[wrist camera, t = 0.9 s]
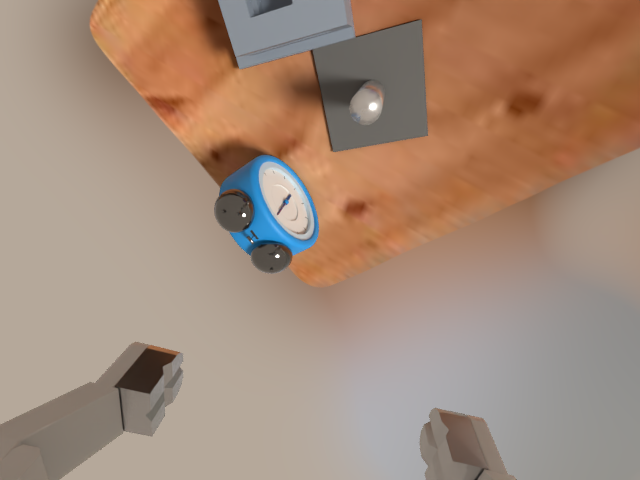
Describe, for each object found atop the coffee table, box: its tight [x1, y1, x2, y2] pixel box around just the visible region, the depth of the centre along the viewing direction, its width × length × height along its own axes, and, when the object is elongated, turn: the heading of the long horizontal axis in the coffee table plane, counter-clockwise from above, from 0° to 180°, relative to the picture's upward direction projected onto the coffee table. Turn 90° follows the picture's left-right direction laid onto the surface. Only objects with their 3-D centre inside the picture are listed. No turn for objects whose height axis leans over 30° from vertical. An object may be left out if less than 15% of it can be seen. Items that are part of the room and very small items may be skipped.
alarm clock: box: [214, 155, 319, 274], centre depth 40 cm, size 13×6×15 cm, turn 34°
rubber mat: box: [313, 19, 428, 152], centre depth 37 cm, size 12×12×1 cm
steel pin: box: [349, 80, 385, 125], centre depth 33 cm, size 3×3×10 cm
